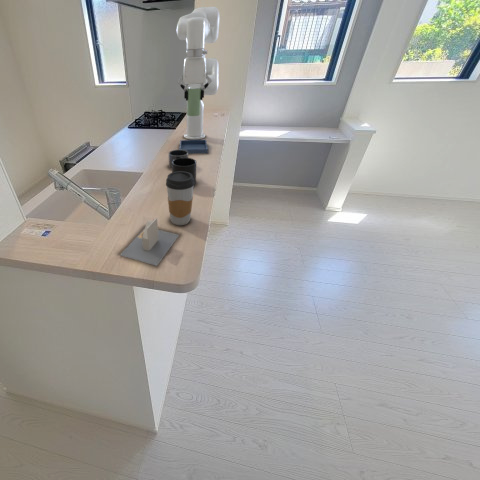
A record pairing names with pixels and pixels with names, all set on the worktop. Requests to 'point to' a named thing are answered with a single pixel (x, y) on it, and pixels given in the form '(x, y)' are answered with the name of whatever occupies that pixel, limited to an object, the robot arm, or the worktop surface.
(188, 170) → the mug
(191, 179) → the coffee cup
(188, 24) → the robot arm
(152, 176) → the worktop surface
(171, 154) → the dark gray cup
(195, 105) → the green cup
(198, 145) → the tray
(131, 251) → the architectural model
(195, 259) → the worktop surface
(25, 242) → the worktop surface
